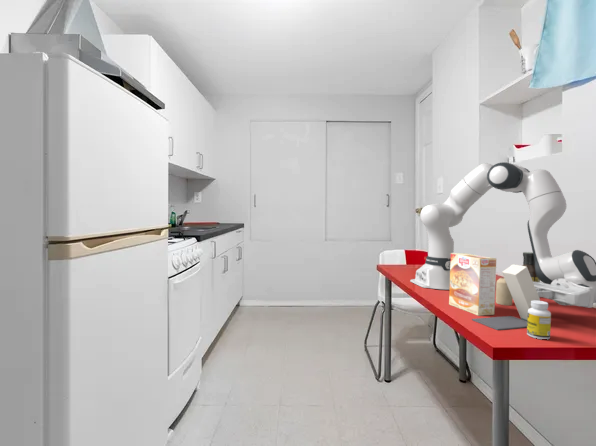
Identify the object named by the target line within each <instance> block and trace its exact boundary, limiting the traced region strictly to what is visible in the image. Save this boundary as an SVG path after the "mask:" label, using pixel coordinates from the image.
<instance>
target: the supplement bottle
mask: <svg viewBox="0 0 596 446" xmlns="http://www.w3.org/2000/svg"><path fill="white" fill-rule="evenodd" d="M531 306H532V308H530V309H528V319H527V328H526V335H528V337H531V338H532V339H536V338H537V340H542V339H547V340H549V339H550V338H551V322H552V313H551V311H550V310H549V302H547V301H543V300H540V301H537V300H533V301H531Z"/></svg>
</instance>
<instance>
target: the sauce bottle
mask: <svg viewBox="0 0 596 446" xmlns="http://www.w3.org/2000/svg"><path fill="white" fill-rule="evenodd" d="M522 256H523V257H522V258H523V260H522V261H523V262H522V263H523V264H522V265H521V266H526V267H527V268H528V271H529V273H530V276H531V278H532V281H533V282H538V277H537V276H536V273H535V260H534V255H533V251H532V252H531V251H523V252H522Z"/></svg>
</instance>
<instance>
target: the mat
mask: <svg viewBox="0 0 596 446" xmlns="http://www.w3.org/2000/svg"><path fill="white" fill-rule="evenodd" d="M471 321H473V322H476V323H478V324H480V325H483V326H485V327H488V328H491V329H494V330H497V331H503V330H504V331H505V330H514V329H525V328H526V329H527V321H526V320H523V319H521V318H519V317H516V316H512V315H506V316H492V317H491V316H490V317H479V318H478V317H477V318H471Z"/></svg>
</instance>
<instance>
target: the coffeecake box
mask: <svg viewBox="0 0 596 446" xmlns="http://www.w3.org/2000/svg"><path fill="white" fill-rule="evenodd" d="M496 277H497V257H495V258H494V257H489V256H483V255H478V254H473V253H472V254H471V253H465V252H463V253H461V252H460V253H459V252H454V253H451V262H450V290H449V295H448V297H449V299H448V305H450V306H452V307H454V308H457V309H460V310H462V311H464V312H467V313H470V314H473V315H475V316H478V317H479V316H480V317H481V316H483V317H484V316H494V315H495V306H496V305H495V304H496V281H497V279H496Z"/></svg>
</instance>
